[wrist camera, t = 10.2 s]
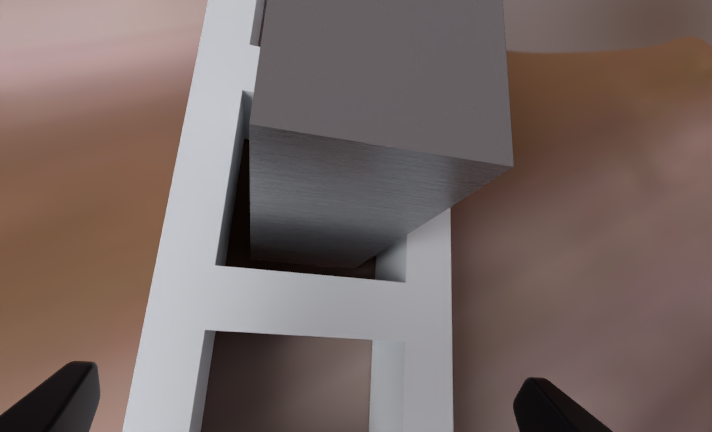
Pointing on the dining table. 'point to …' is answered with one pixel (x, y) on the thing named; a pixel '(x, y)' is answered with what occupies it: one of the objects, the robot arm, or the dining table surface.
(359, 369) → the dining table surface
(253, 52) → the white flat frame block
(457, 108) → the steel peg
